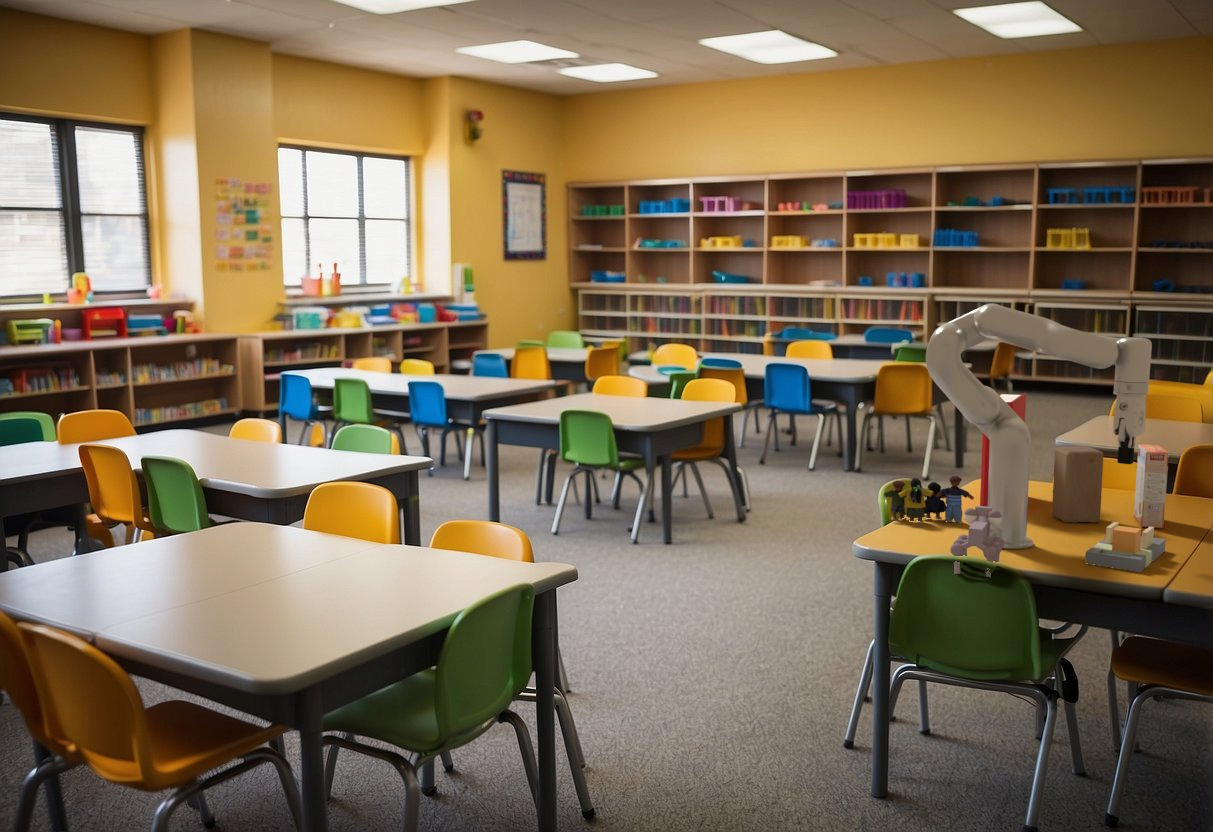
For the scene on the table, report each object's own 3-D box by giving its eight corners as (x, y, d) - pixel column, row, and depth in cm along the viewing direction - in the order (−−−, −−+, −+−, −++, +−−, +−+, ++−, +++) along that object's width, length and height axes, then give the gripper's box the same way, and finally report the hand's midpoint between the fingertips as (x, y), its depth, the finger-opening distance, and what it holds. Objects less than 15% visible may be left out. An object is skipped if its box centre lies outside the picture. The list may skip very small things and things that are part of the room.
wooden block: (1101, 523, 296) (1105, 451, 293) (1064, 523, 296) (1068, 451, 293) (1086, 515, 306) (1089, 445, 303) (1050, 515, 306) (1053, 445, 303)
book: (994, 493, 337) (998, 391, 333) (1021, 495, 333) (1026, 392, 329) (979, 510, 314) (982, 401, 309) (1008, 512, 310) (1012, 402, 306)
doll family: (963, 517, 306) (964, 470, 304) (974, 524, 297) (976, 476, 295) (882, 518, 305) (883, 471, 303) (891, 525, 296) (892, 478, 294)
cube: (1134, 553, 253) (1136, 532, 252) (1111, 550, 256) (1113, 529, 255) (1140, 549, 257) (1141, 528, 256) (1117, 546, 260) (1118, 525, 259)
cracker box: (1165, 529, 288) (1169, 452, 285) (1140, 528, 290) (1144, 451, 287) (1157, 518, 301) (1161, 444, 299) (1133, 516, 303) (1137, 443, 301)
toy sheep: (961, 553, 266) (965, 499, 264) (1006, 560, 261) (1011, 505, 259) (946, 573, 248) (951, 516, 246) (995, 581, 244) (1000, 523, 242)
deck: (1140, 572, 248) (1141, 542, 247) (1085, 564, 255) (1086, 535, 254) (1165, 551, 266) (1166, 523, 265) (1113, 543, 274) (1114, 516, 273)
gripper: (1138, 392, 253) (1132, 469, 256) (1156, 387, 264) (1150, 461, 267) (1104, 389, 258) (1099, 465, 261) (1124, 385, 269) (1118, 457, 272)
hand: (1125, 463), depth 264 cm, fingers closed
